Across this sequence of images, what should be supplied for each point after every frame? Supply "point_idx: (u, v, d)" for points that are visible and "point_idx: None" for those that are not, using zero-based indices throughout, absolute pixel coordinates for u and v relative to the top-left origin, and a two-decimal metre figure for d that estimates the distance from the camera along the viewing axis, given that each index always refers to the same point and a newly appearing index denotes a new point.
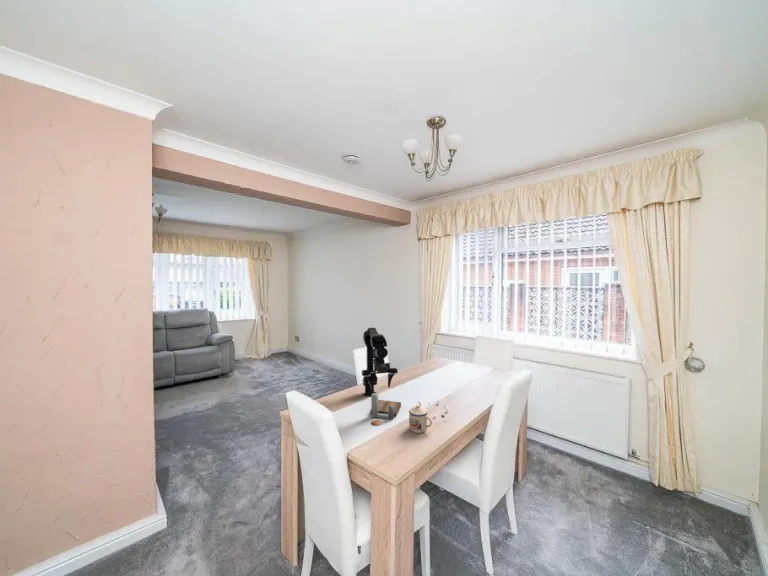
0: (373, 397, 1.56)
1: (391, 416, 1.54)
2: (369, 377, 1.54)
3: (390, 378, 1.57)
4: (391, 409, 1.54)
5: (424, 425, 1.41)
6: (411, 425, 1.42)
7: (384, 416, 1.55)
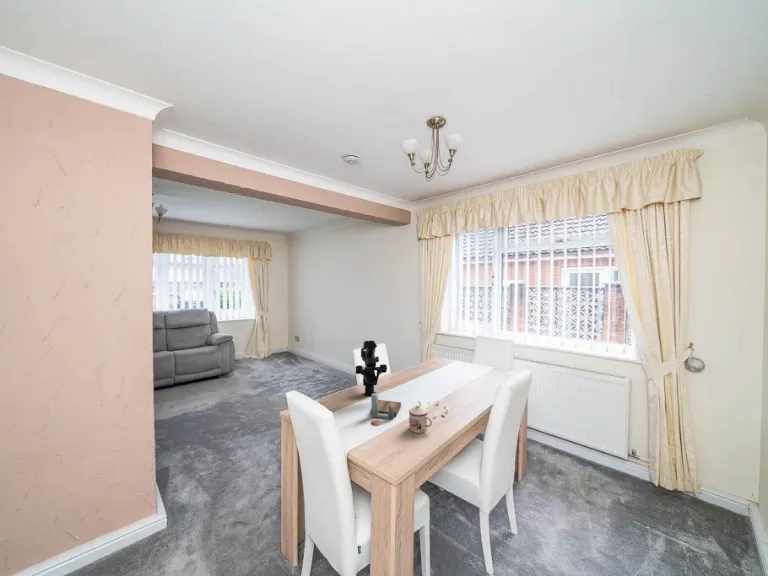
0: (373, 397, 1.56)
1: (391, 416, 1.54)
2: (364, 370, 1.74)
3: (378, 373, 1.75)
4: (391, 409, 1.54)
5: (424, 425, 1.41)
6: (411, 425, 1.42)
7: (384, 416, 1.55)
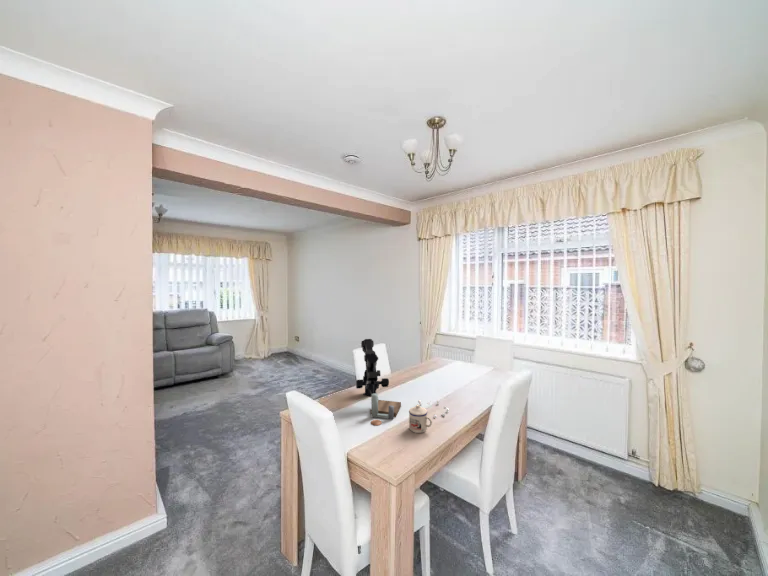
0: (373, 397, 1.56)
1: (391, 416, 1.54)
2: (370, 385, 1.66)
3: (374, 388, 1.67)
4: (391, 409, 1.54)
5: (424, 425, 1.41)
6: (411, 425, 1.42)
7: (384, 416, 1.55)
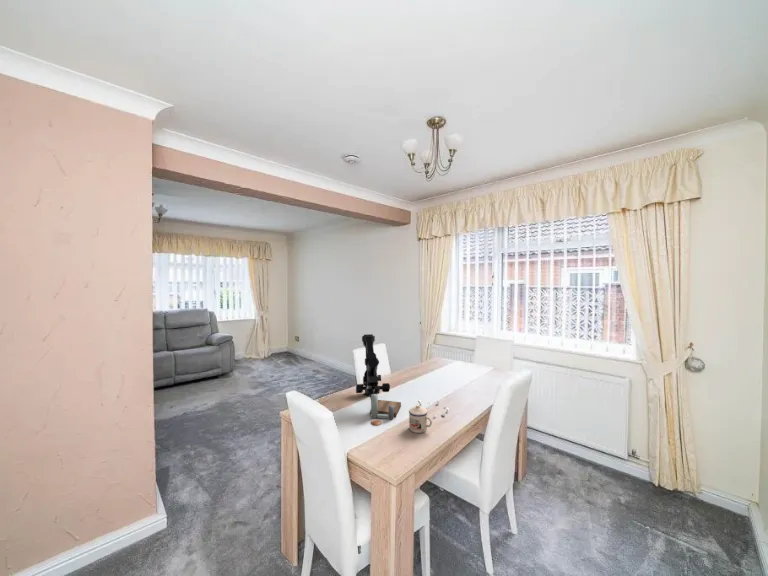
0: (373, 398, 1.55)
1: (391, 416, 1.54)
2: (370, 390, 1.61)
3: (375, 393, 1.61)
4: (391, 409, 1.54)
5: (424, 425, 1.41)
6: (411, 425, 1.42)
7: (384, 416, 1.55)
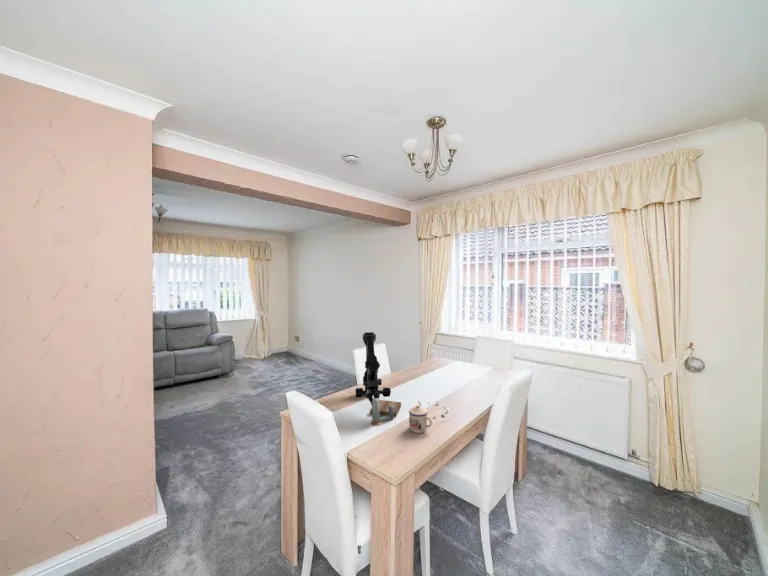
0: (377, 402, 1.49)
1: (393, 416, 1.54)
2: (370, 394, 1.55)
3: (375, 397, 1.55)
4: (393, 409, 1.54)
5: (424, 425, 1.41)
6: (411, 425, 1.42)
7: (386, 418, 1.53)
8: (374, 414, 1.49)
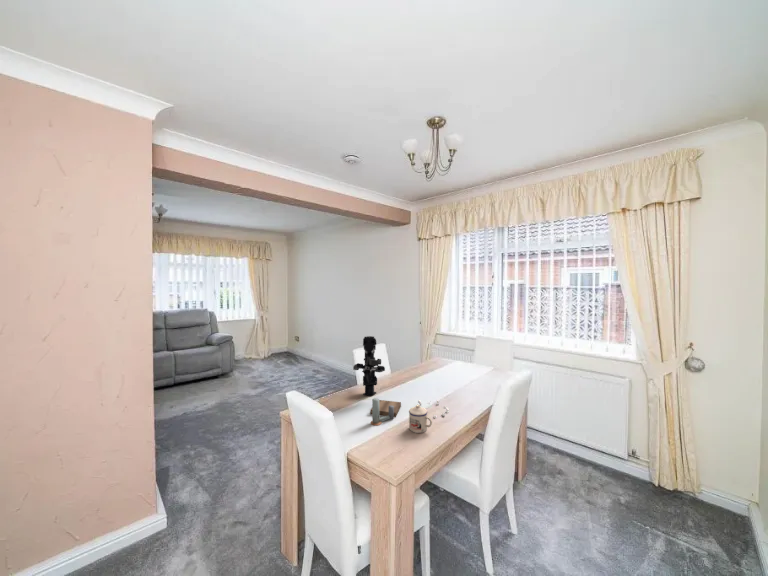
0: (377, 402, 1.49)
1: (393, 416, 1.54)
2: (368, 370, 1.73)
3: (372, 374, 1.74)
4: (393, 409, 1.54)
5: (424, 425, 1.41)
6: (411, 425, 1.42)
7: (386, 418, 1.53)
8: (374, 414, 1.49)
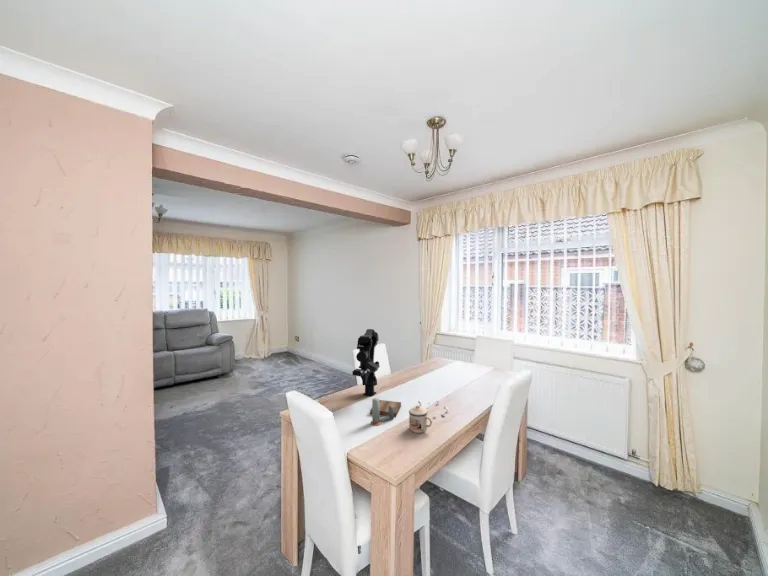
0: (377, 402, 1.49)
1: (393, 416, 1.54)
2: (367, 374, 1.72)
3: (368, 375, 1.75)
4: (393, 409, 1.54)
5: (424, 425, 1.41)
6: (411, 425, 1.42)
7: (386, 418, 1.53)
8: (374, 414, 1.49)
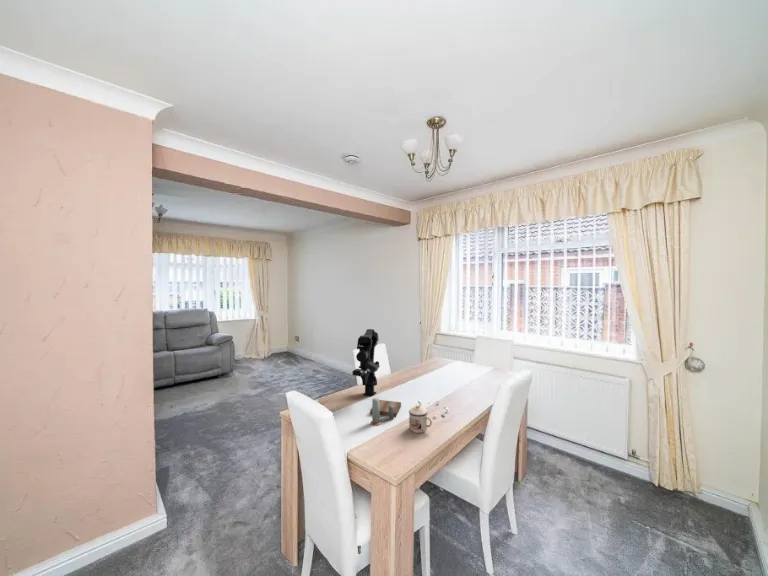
0: (377, 402, 1.49)
1: (393, 416, 1.54)
2: (367, 374, 1.72)
3: (368, 375, 1.75)
4: (393, 409, 1.54)
5: (424, 425, 1.41)
6: (411, 425, 1.42)
7: (386, 418, 1.53)
8: (374, 414, 1.49)
